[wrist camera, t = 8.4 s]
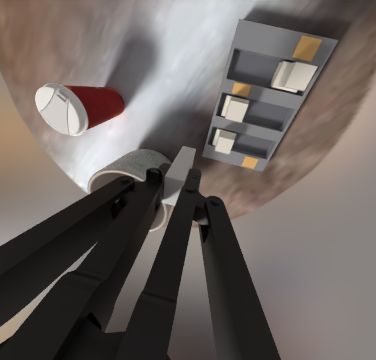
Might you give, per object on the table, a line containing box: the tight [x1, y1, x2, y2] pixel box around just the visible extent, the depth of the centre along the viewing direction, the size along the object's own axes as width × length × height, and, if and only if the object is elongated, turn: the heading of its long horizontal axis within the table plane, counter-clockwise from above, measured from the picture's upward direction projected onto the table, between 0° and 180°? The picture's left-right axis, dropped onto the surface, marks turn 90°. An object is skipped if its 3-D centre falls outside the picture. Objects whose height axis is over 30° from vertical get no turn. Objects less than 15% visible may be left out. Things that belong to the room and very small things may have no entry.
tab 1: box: [221, 95, 249, 123], centre depth 26 cm, size 3×4×6 cm
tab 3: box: [269, 61, 317, 93], centre depth 22 cm, size 3×4×6 cm
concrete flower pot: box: [88, 149, 172, 232], centre depth 36 cm, size 17×17×15 cm
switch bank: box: [202, 19, 339, 172], centre depth 28 cm, size 22×14×3 cm, turn 169°
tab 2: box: [212, 127, 236, 154], centre depth 30 cm, size 3×4×6 cm
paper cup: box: [35, 83, 124, 136], centre depth 28 cm, size 8×8×14 cm
